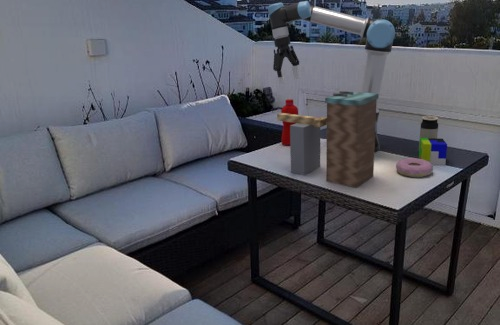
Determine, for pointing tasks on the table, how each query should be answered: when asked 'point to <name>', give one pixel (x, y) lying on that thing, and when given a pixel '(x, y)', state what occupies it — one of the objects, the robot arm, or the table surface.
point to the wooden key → (302, 119)
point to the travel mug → (429, 127)
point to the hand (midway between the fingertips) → (289, 81)
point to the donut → (414, 167)
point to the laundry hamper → (350, 137)
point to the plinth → (304, 148)
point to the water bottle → (288, 109)
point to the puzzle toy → (433, 150)
